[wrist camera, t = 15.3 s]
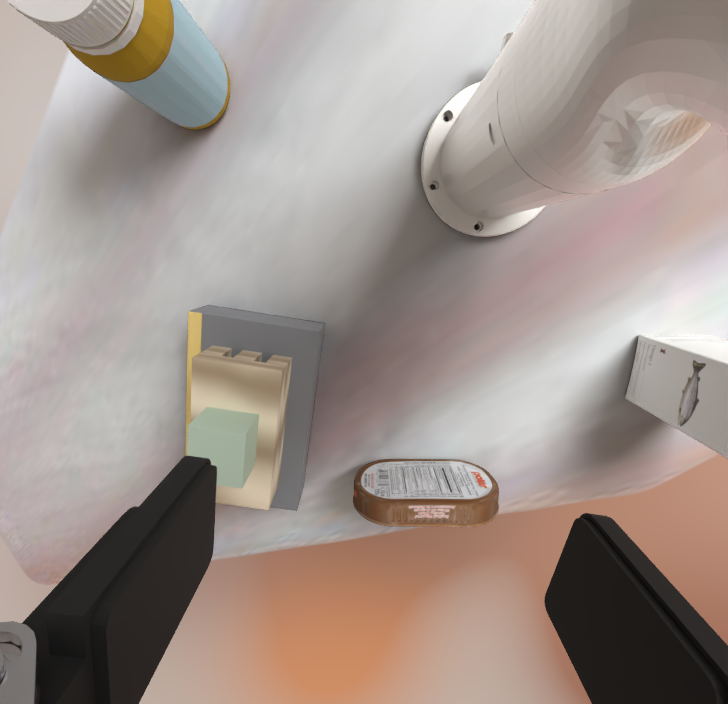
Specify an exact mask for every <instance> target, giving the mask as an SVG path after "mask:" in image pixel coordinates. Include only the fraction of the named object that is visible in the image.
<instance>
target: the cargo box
mask: <svg viewBox="0 0 728 704" xmlns="http://www.w3.org/2000/svg"><path fill="white" fill-rule="evenodd" d="M258 422H259V414H253V413H246V412H239V411H232V410H225V409H219V408H212V407H206V408H205V409H204V410H203V411H202V412H201V413H200V414H199V415H198V416H197V417H196V418H195V419H194V420H193V421H192V422H191V423H190V424H189V425H188V432H187V455H188V456H195V457H202V458H208V459H210V461H211V465H214V466H216V467H217V484H216V485H220V486H227V487H235V488H243V486H244V484H245V482H246V480H247V479H248V477H249V475H250V473H251V471H252V469H253V467H254V465H255V460H256V447H257V435H258Z"/></svg>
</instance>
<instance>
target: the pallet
mask: <svg viewBox="0 0 728 704" xmlns="http://www.w3.org/2000/svg"><path fill="white" fill-rule="evenodd" d="M231 353H232V348H226V347H220V346H213V345H212V346H211V347H209V348H207V349H206V350H204V351H202V352H201V353H199V354H198V355H196V356H194V357H193V358H192V380H191V422H192V421H193V420H194V419H195V418H196V417H197V416H198V415H199V414H200V413H201V412H202V411H203V410H204V409H205V408H206V407H212V408H219V409H225V410H232V411H239V412H246V413H253V414H259V422H258V435H257V447H256V460H255V465H254V467H253V469H252V471H251V473H250V475H249V477H248V479H247V480H246V482H245V484H244V486H243V488H235V487H227V486H220V485H216V503H221V504H228V505H235V506H242V507H249V508H256V509H263V510H269V508H270V505H271V503H272V500H273V497H274V495H275V492H276V490H277V487H278V484H279V478H280V468H281V459H282V449H283V440H284V430H285V421H286V411H287V402H288V392H289V383H290V373H291V364H292V357H285V356H279V355H272V356H271V358H270V359H269V360H268V361H267V362H266V363H264V362H261V360H262V353H259V352H252V351H246V350H242V351H241V352H240V353H239V354H237V355H236V356H235V357H233V358H231Z"/></svg>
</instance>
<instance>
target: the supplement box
mask: <svg viewBox="0 0 728 704" xmlns="http://www.w3.org/2000/svg"><path fill="white" fill-rule="evenodd" d="M625 398H626V399H627V400H629V401H630V402H632V403H634V404H635V405H637V406H639V407H640V408H642V409H644V410H646V411H647V412H649V413H651V414H652V415H654V416H656V417H658V418H659V419H661V420H663V421H664V422H666V423H668V424H670V425H671V426H673V427H675V428H676V429H678V430H680V431H682V432H683V433H685V434H687V435H688V436H690V437H692V438H693V439H695V440H697V441H698V442H700V443H702V444H704V445H705V446H707V447H709V448H710V449H712V450H714V451H715V452H717V453H719V454H721V455H722V456H724V457H726V458H728V340H727V339H723V338H719V337H716V336H711V335H639V337H638V344H637V350H636V355H635V360H634V364H633V368H632V373H631V377H630V381H629V385H628V389H627V392H626V396H625Z"/></svg>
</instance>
